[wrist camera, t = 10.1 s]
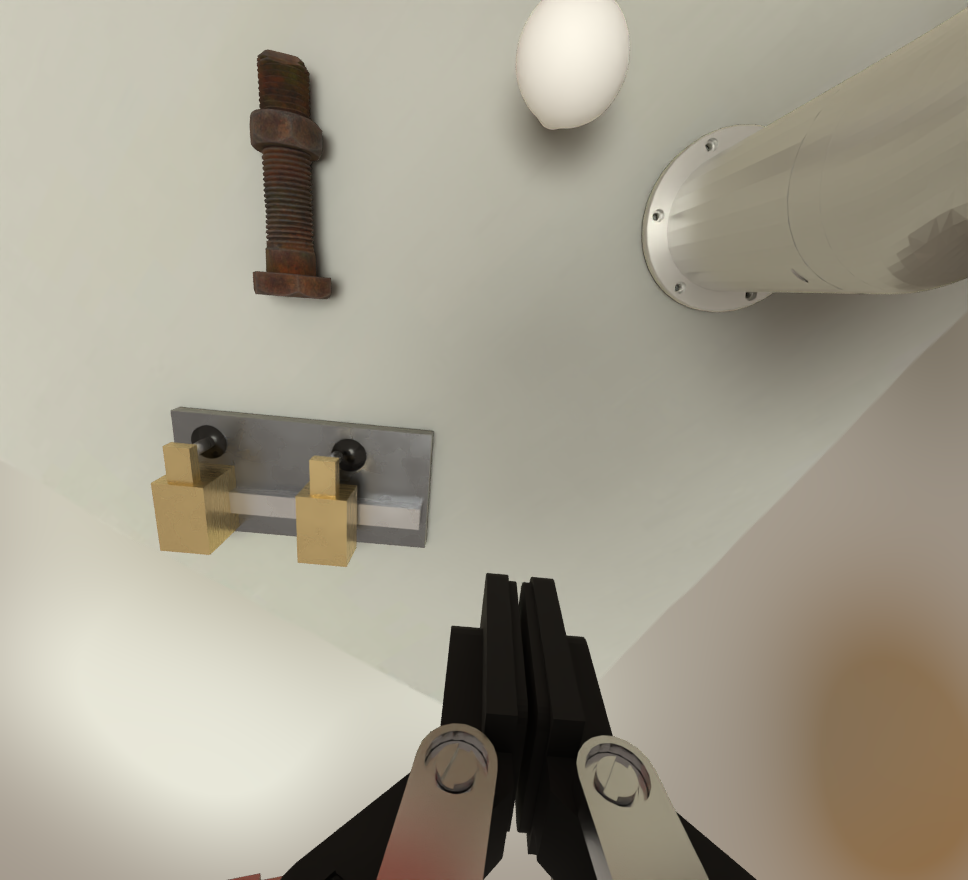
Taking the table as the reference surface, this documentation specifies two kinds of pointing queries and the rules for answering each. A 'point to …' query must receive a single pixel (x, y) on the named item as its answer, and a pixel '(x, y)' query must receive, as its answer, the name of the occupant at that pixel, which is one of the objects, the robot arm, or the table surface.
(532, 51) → the lightbulb
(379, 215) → the table surface
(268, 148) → the bolt
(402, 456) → the hole plate
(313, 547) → the block
